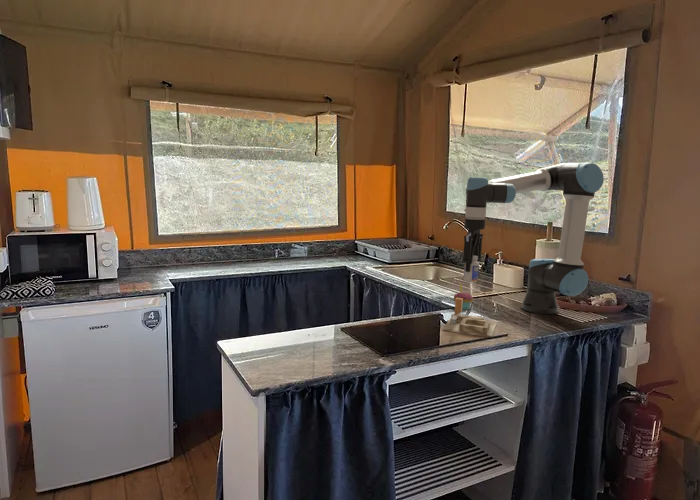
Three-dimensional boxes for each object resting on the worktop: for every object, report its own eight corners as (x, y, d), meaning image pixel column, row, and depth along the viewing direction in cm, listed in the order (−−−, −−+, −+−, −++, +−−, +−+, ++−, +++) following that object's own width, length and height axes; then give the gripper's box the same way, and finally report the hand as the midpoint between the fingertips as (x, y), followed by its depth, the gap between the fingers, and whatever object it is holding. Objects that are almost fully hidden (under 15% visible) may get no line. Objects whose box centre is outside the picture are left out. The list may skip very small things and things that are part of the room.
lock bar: (461, 314, 193) (462, 298, 192) (456, 323, 180) (457, 306, 179) (455, 313, 194) (456, 297, 193) (449, 322, 181) (450, 305, 180)
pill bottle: (460, 280, 186) (462, 255, 184) (469, 278, 189) (471, 254, 188) (471, 282, 182) (473, 257, 180) (480, 281, 185) (482, 256, 183)
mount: (496, 325, 191) (496, 317, 191) (492, 337, 176) (492, 329, 175) (450, 319, 198) (450, 311, 197) (442, 330, 182) (443, 322, 182)
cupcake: (458, 311, 210) (460, 284, 208) (449, 306, 218) (451, 280, 216) (476, 310, 212) (477, 283, 211) (466, 305, 220) (468, 279, 219)
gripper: (474, 216, 191) (470, 274, 195) (456, 218, 176) (452, 281, 180) (492, 217, 187) (488, 276, 191) (476, 220, 172) (471, 284, 176)
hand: (470, 278), depth 185 cm, fingers closed on pill bottle, 5 cm apart
